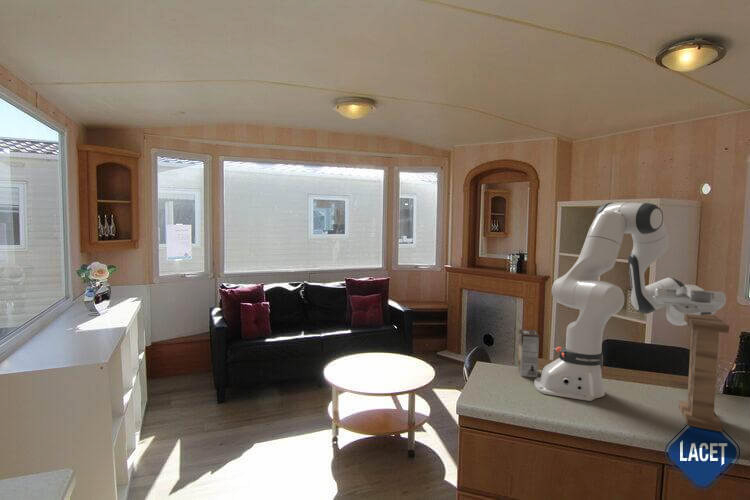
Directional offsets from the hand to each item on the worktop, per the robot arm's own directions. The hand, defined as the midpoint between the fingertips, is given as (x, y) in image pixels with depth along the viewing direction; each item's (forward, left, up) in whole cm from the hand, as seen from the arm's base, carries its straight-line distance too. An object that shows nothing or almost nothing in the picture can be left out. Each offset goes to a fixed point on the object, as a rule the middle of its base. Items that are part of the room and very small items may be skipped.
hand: (692, 289), depth 144 cm
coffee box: (-51, +8, -36) cm, 63 cm away
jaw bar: (-1, -5, -2) cm, 6 cm away
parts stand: (-6, -21, -36) cm, 42 cm away
